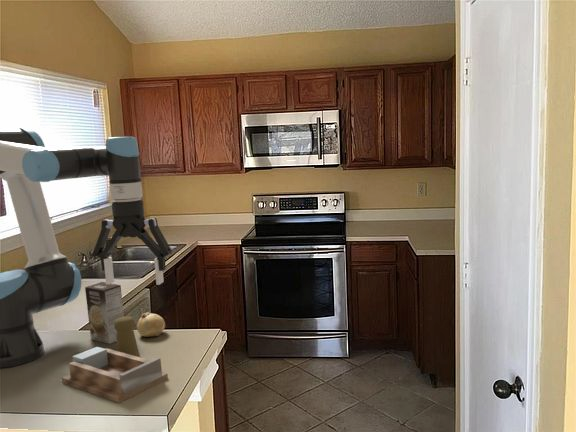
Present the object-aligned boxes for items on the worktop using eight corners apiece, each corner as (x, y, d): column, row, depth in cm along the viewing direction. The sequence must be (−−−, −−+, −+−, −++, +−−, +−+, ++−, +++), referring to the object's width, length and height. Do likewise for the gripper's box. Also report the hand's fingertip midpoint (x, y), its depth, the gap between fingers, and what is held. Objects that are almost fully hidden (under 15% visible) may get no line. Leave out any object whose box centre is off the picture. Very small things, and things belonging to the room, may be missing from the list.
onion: (156, 328, 168) (154, 306, 167) (171, 333, 162) (168, 310, 161) (133, 336, 162) (130, 313, 161) (147, 342, 157) (145, 318, 156)
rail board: (62, 382, 132) (59, 360, 131) (110, 361, 143) (108, 341, 143) (119, 402, 119) (116, 378, 119) (167, 378, 131) (165, 355, 130)
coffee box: (89, 339, 162) (83, 286, 159) (107, 332, 167) (101, 281, 165) (109, 344, 156) (103, 290, 154) (127, 337, 162) (121, 284, 159)
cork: (133, 362, 142) (128, 321, 140) (111, 361, 143) (107, 321, 142) (143, 353, 148) (139, 314, 146) (123, 352, 149) (119, 314, 148)
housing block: (74, 371, 135) (72, 356, 134) (98, 361, 140) (97, 346, 140) (84, 374, 132) (82, 359, 132) (108, 364, 138) (106, 349, 138)
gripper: (72, 202, 134) (81, 286, 137) (168, 200, 129) (175, 287, 132) (89, 199, 141) (97, 279, 144) (180, 196, 136) (187, 279, 139)
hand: (134, 283), depth 138 cm, fingers open, 13 cm apart
